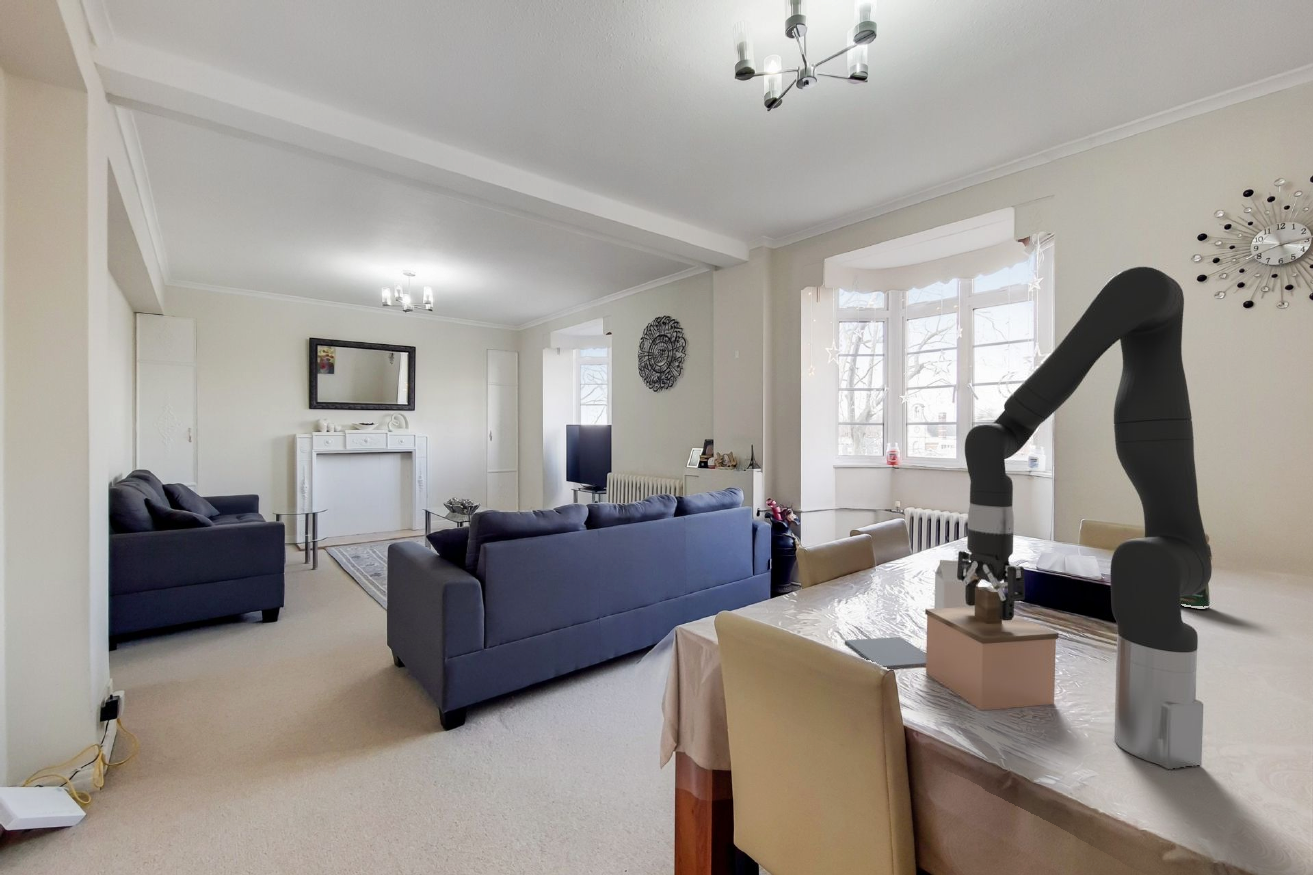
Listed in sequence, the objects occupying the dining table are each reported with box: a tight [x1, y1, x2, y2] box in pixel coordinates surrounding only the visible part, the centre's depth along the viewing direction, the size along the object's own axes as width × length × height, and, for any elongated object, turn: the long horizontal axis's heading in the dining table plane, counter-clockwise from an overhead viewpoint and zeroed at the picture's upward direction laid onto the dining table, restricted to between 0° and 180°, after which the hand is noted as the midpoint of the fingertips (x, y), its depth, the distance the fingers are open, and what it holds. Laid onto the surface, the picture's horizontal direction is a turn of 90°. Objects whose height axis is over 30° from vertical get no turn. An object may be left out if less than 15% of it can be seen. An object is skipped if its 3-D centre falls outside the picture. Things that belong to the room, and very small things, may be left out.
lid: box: [924, 586, 1059, 644], centre depth 106 cm, size 16×16×7 cm
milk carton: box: [933, 559, 979, 609], centre depth 129 cm, size 7×7×19 cm
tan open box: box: [925, 615, 1057, 711], centre depth 107 cm, size 15×15×12 cm
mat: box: [844, 636, 926, 669], centre depth 122 cm, size 14×14×1 cm
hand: (988, 612), depth 106 cm, fingers open, 8 cm apart
